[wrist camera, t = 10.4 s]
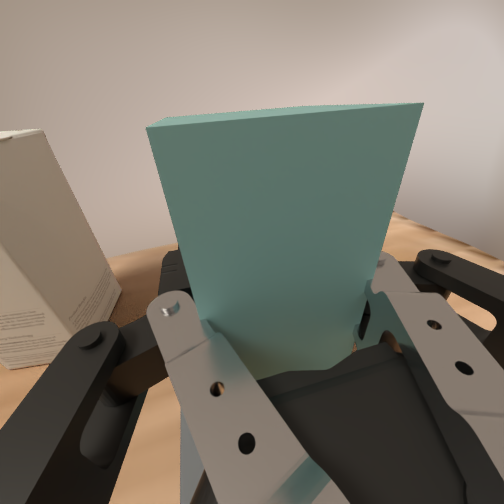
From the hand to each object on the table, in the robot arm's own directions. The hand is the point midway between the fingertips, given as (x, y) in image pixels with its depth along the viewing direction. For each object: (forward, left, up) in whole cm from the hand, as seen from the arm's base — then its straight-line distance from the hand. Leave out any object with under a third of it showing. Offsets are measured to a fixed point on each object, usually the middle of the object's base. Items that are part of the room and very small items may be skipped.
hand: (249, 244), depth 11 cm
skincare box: (-15, +8, -11) cm, 20 cm away
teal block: (0, -3, -6) cm, 7 cm away
